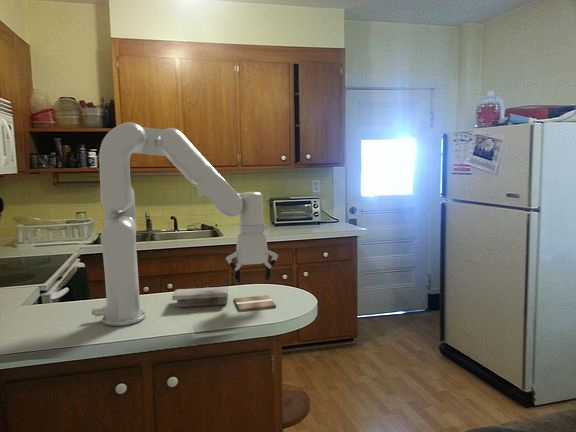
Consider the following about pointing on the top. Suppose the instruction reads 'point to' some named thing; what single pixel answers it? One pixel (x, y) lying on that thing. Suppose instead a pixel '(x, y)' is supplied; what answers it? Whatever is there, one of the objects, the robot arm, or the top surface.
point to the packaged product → (201, 296)
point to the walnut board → (254, 303)
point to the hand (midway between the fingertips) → (252, 280)
